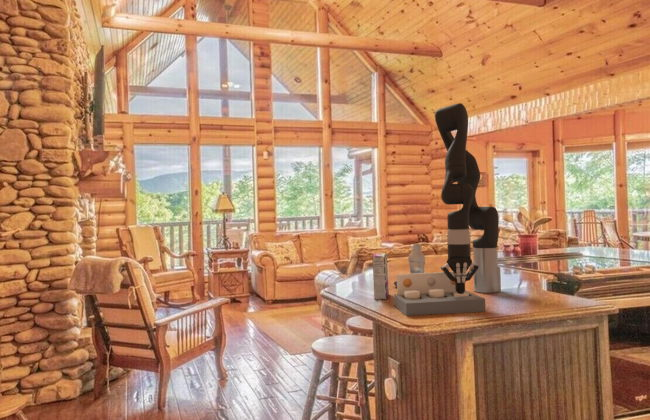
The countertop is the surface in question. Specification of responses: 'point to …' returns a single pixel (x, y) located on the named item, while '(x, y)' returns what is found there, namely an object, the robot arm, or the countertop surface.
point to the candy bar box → (380, 276)
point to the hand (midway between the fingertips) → (460, 293)
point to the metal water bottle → (416, 259)
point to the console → (433, 305)
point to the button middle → (436, 293)
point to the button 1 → (412, 294)
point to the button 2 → (460, 294)
